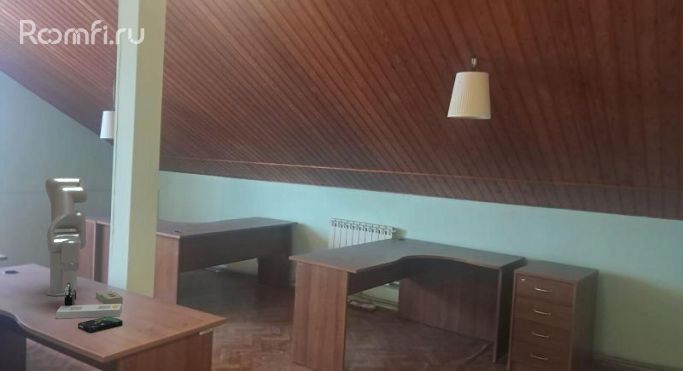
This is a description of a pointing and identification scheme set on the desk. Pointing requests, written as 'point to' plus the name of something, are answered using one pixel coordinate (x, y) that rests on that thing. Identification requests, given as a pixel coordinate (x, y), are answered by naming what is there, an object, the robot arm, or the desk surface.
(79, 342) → the desk surface
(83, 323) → the disk drive
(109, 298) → the electrical outlet
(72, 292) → the plug
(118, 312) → the white device panel
